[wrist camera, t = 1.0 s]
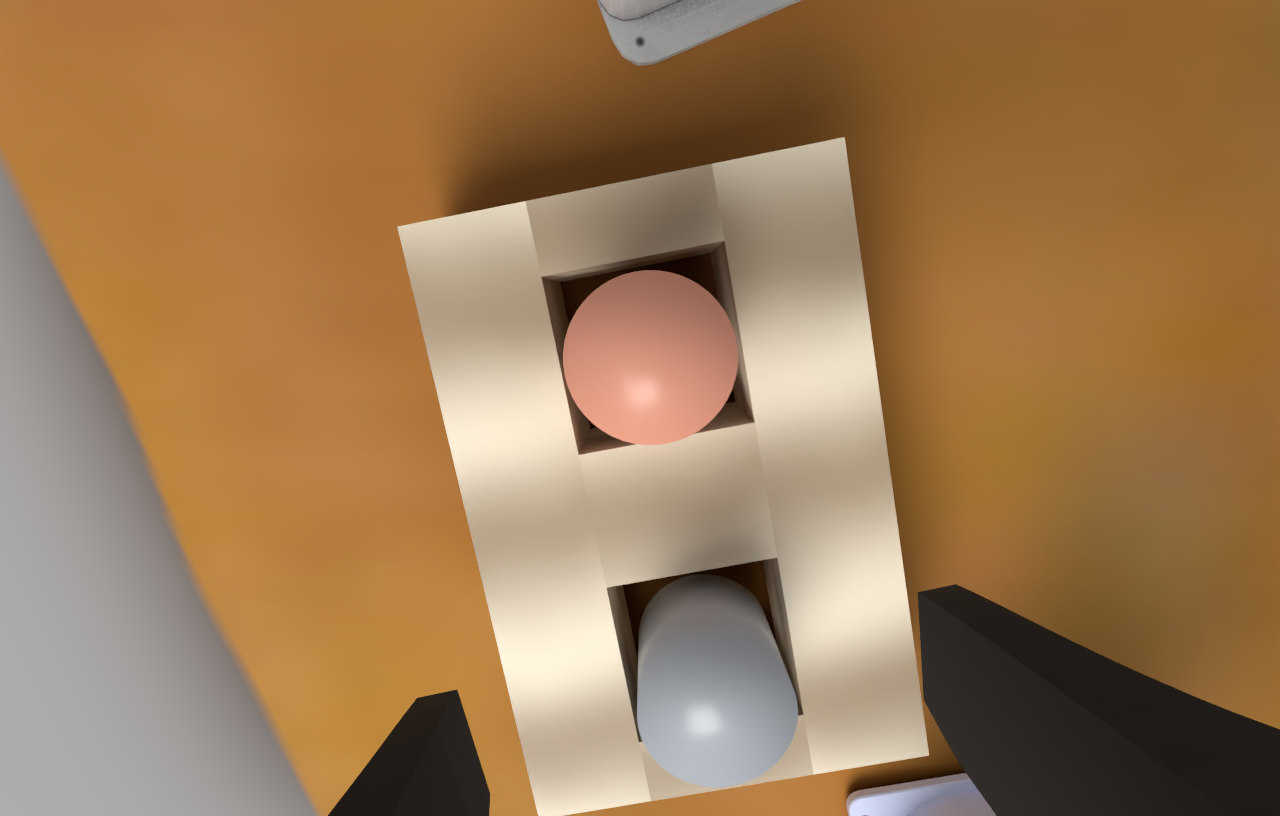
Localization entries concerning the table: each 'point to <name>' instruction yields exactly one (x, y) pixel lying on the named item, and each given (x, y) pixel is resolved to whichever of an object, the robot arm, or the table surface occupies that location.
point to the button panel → (675, 464)
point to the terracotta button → (650, 357)
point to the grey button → (712, 683)
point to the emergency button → (676, 24)
